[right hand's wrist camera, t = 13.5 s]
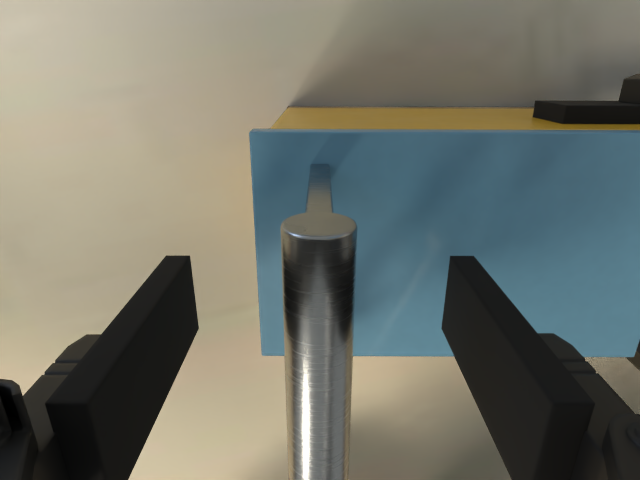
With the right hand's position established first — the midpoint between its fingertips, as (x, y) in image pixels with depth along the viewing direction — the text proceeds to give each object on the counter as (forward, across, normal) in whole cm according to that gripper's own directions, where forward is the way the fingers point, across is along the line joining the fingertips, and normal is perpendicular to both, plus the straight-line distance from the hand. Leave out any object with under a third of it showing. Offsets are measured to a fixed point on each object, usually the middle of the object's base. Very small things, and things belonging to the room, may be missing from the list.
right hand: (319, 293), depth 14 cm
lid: (+4, -6, 0) cm, 7 cm away
